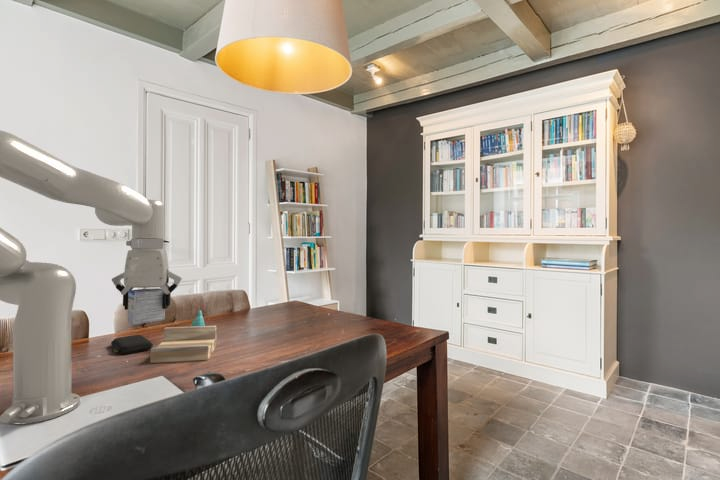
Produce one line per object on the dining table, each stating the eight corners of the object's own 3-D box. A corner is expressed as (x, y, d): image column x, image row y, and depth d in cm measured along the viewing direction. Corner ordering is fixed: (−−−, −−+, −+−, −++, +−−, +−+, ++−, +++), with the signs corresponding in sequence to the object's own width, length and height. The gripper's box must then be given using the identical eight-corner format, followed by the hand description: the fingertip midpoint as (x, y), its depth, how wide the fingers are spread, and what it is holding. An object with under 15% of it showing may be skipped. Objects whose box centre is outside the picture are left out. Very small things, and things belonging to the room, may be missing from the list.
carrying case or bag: (106, 347, 126) (116, 358, 115) (106, 338, 126) (116, 348, 115) (141, 341, 133) (154, 350, 123) (141, 332, 133) (154, 341, 123)
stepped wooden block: (207, 359, 113) (208, 336, 113) (150, 362, 110) (150, 339, 110) (216, 346, 127) (216, 325, 127) (165, 348, 124) (165, 327, 124)
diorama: (152, 336, 139) (153, 313, 139) (204, 327, 154) (205, 306, 154) (166, 343, 131) (166, 318, 131) (220, 332, 146) (220, 310, 146)
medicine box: (157, 317, 106) (158, 287, 106) (165, 320, 104) (165, 288, 104) (127, 322, 100) (127, 290, 100) (134, 325, 97) (134, 291, 97)
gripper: (106, 245, 97) (105, 311, 97) (178, 245, 100) (177, 310, 100) (118, 244, 104) (117, 306, 104) (185, 245, 108) (184, 305, 108)
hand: (147, 308), depth 102 cm, fingers closed on medicine box, 8 cm apart
